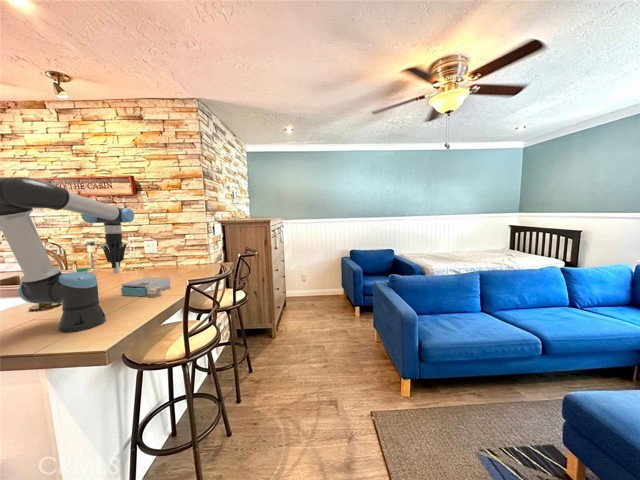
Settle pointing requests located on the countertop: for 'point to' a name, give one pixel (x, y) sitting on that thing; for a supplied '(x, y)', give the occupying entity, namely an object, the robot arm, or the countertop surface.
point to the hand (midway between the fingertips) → (116, 273)
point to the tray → (133, 291)
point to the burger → (44, 306)
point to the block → (154, 292)
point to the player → (149, 283)
